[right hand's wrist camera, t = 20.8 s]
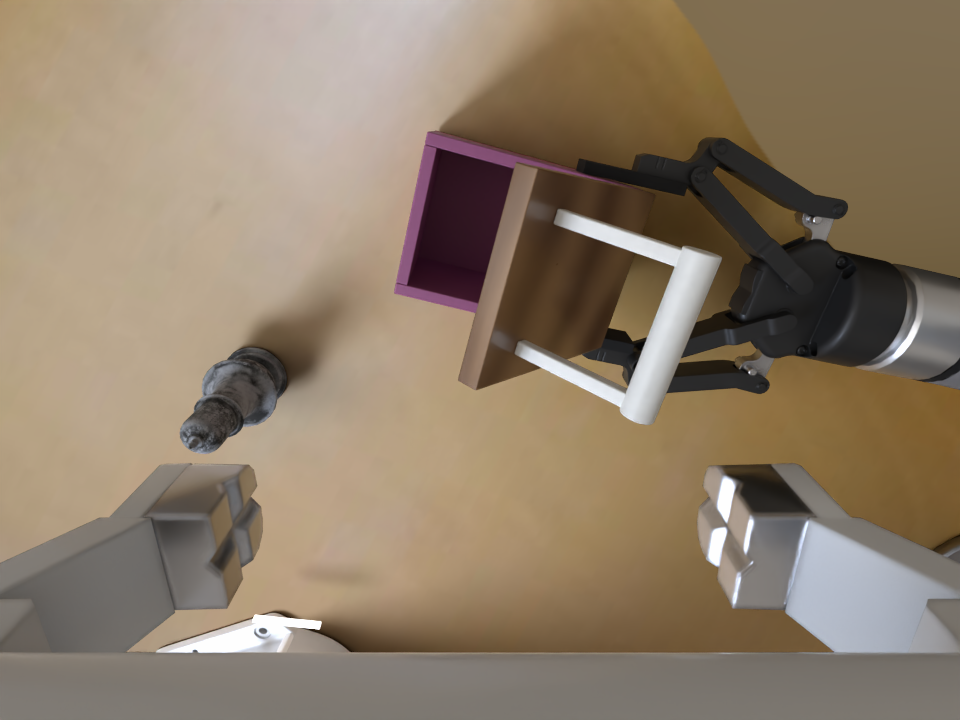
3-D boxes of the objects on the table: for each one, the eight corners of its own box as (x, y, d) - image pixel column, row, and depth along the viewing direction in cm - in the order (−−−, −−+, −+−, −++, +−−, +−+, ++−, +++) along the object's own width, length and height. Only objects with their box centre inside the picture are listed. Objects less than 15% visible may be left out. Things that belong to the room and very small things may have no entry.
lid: (457, 380, 26) (616, 470, 22) (515, 161, 23) (717, 221, 19) (586, 341, 37) (708, 396, 33) (639, 189, 34) (782, 231, 30)
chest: (407, 261, 45) (393, 293, 36) (435, 130, 42) (427, 130, 33) (568, 301, 47) (592, 341, 38) (608, 178, 43) (644, 190, 34)
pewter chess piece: (232, 332, 47) (155, 394, 36) (299, 361, 48) (245, 430, 37) (212, 390, 49) (134, 466, 38) (277, 417, 50) (220, 498, 39)
